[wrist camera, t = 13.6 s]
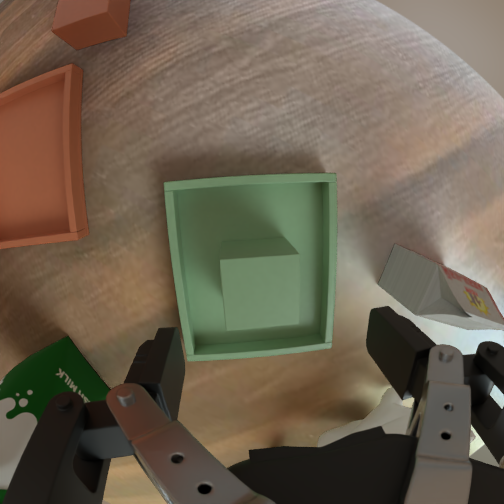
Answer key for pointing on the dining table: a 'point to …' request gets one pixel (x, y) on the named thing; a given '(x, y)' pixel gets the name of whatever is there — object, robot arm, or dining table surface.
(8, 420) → the soya milk
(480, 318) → the small milk carton
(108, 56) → the dining table surface
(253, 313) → the sage block
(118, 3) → the terracotta block
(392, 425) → the person figurine
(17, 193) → the terracotta tray
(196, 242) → the sage tray
